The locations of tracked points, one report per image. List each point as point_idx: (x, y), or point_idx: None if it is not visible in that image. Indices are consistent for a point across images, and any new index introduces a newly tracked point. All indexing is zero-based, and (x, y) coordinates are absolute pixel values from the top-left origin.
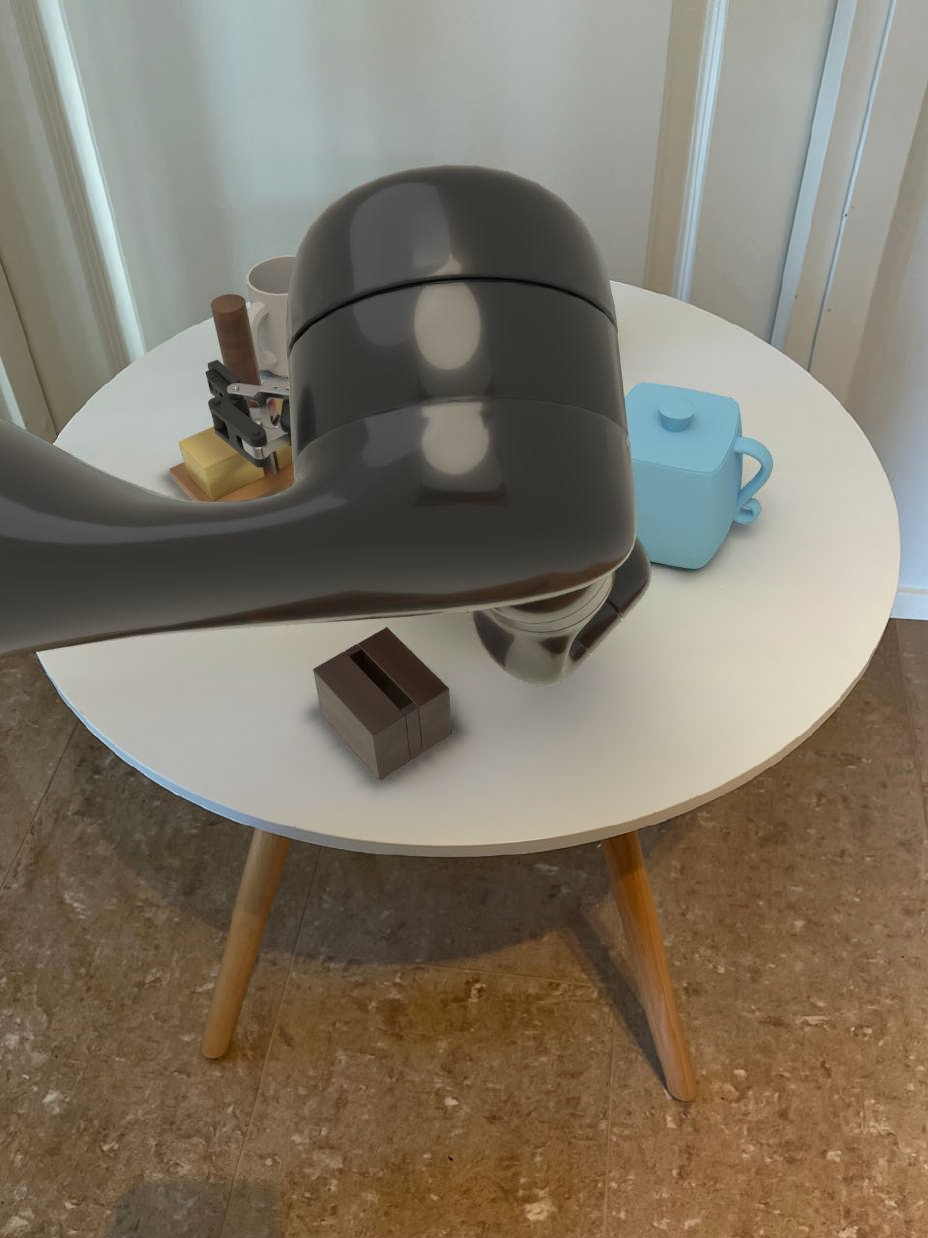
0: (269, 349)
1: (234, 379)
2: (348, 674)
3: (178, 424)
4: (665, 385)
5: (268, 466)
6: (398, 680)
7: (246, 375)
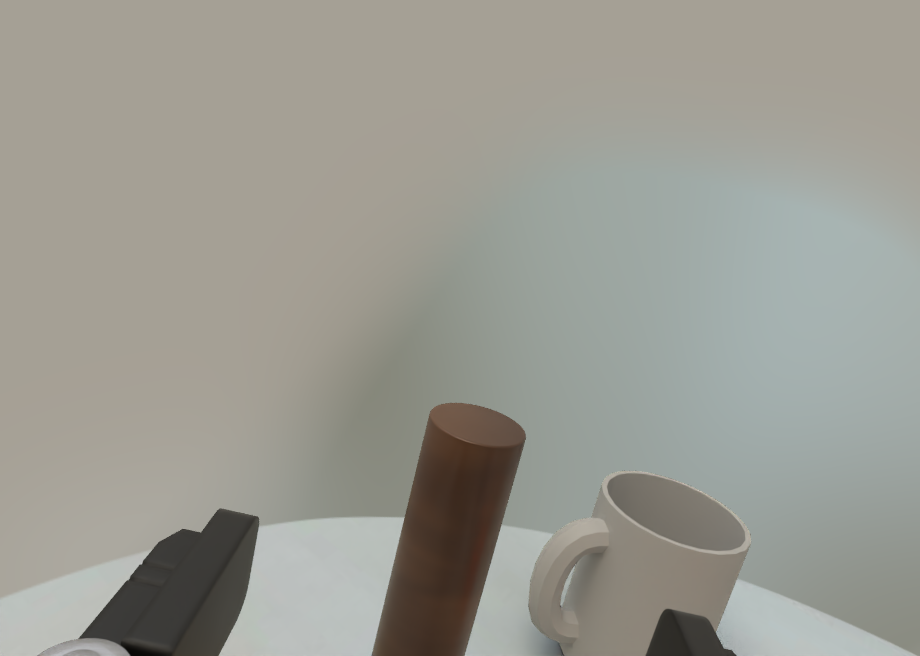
0: (576, 609)
1: (160, 628)
2: None
3: (349, 626)
4: None
5: None
6: None
7: (417, 632)
